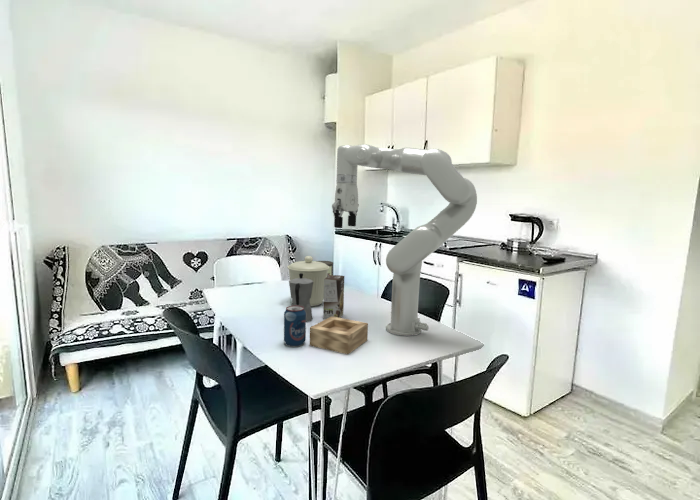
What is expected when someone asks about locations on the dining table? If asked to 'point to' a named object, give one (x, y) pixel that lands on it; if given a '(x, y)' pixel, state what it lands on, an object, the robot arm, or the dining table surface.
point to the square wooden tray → (339, 334)
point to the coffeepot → (302, 294)
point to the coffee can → (330, 264)
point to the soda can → (294, 326)
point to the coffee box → (333, 296)
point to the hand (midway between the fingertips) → (345, 226)
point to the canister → (311, 276)
